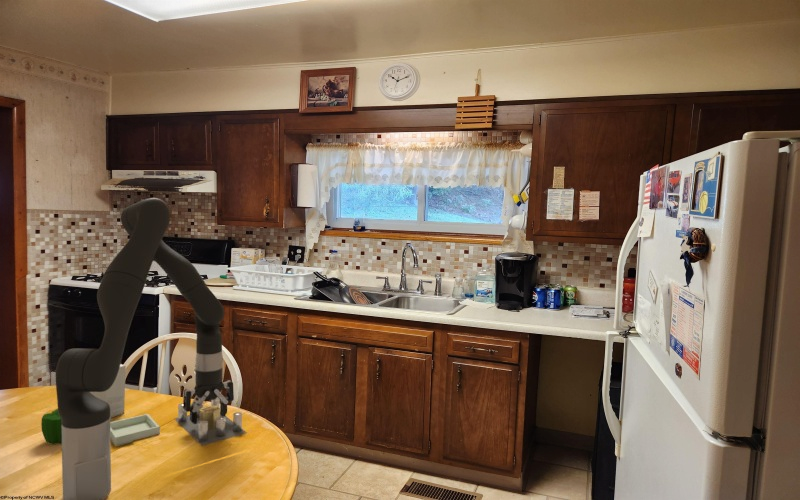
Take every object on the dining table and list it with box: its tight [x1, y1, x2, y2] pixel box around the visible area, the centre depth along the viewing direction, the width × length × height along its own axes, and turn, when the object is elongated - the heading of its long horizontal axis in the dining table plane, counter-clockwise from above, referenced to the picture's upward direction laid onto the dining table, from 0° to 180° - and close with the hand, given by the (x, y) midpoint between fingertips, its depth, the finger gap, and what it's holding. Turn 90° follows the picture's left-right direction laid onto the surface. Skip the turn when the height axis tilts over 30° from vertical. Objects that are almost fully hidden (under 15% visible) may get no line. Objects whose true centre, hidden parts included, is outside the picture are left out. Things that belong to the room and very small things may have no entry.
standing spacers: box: [177, 397, 243, 442], centre depth 148 cm, size 18×12×5 cm
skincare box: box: [90, 363, 126, 419], centre depth 155 cm, size 8×7×16 cm
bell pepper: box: [40, 408, 62, 445], centre depth 137 cm, size 8×8×10 cm
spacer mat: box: [174, 414, 247, 447], centre depth 149 cm, size 22×13×1 cm, turn 43°
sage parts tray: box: [110, 413, 161, 447], centre depth 143 cm, size 11×11×2 cm
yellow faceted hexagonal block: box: [199, 405, 220, 429], centre depth 148 cm, size 6×5×5 cm
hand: (208, 419), depth 149 cm, fingers open, 8 cm apart
